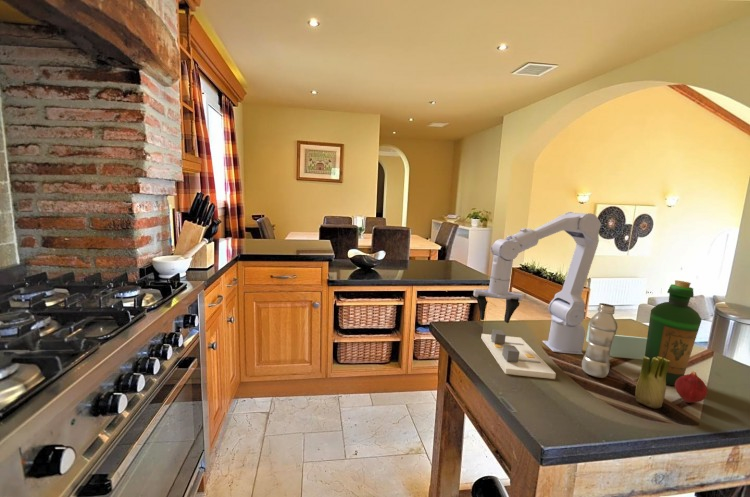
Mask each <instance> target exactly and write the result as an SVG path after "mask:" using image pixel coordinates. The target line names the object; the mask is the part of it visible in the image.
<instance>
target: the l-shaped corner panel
mask: <svg viewBox="0 0 750 497" xmlns="http://www.w3.org/2000/svg"><path fill="white" fill-rule="evenodd" d="M589 328H590V321H589V322H588V326H587V331H586V332H587V333H586V336H585V337H586V338H585V342H587V343H588V341H589ZM646 343H647V337H644V336H643V337H640V336H632V335H621V334H615V337H614V339H613V342H612V346H611V350H610V357H612V358H613V357H614V358H623V359H634V360H642V361H643V357H645V350H646Z"/></svg>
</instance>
